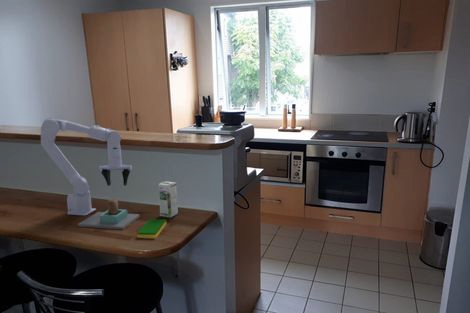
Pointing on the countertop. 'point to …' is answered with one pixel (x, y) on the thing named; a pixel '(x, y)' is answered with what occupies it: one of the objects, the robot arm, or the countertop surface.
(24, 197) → the countertop surface
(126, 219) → the socket stand
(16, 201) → the countertop surface
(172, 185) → the syrup box
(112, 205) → the walnut peg
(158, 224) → the dish sponge
